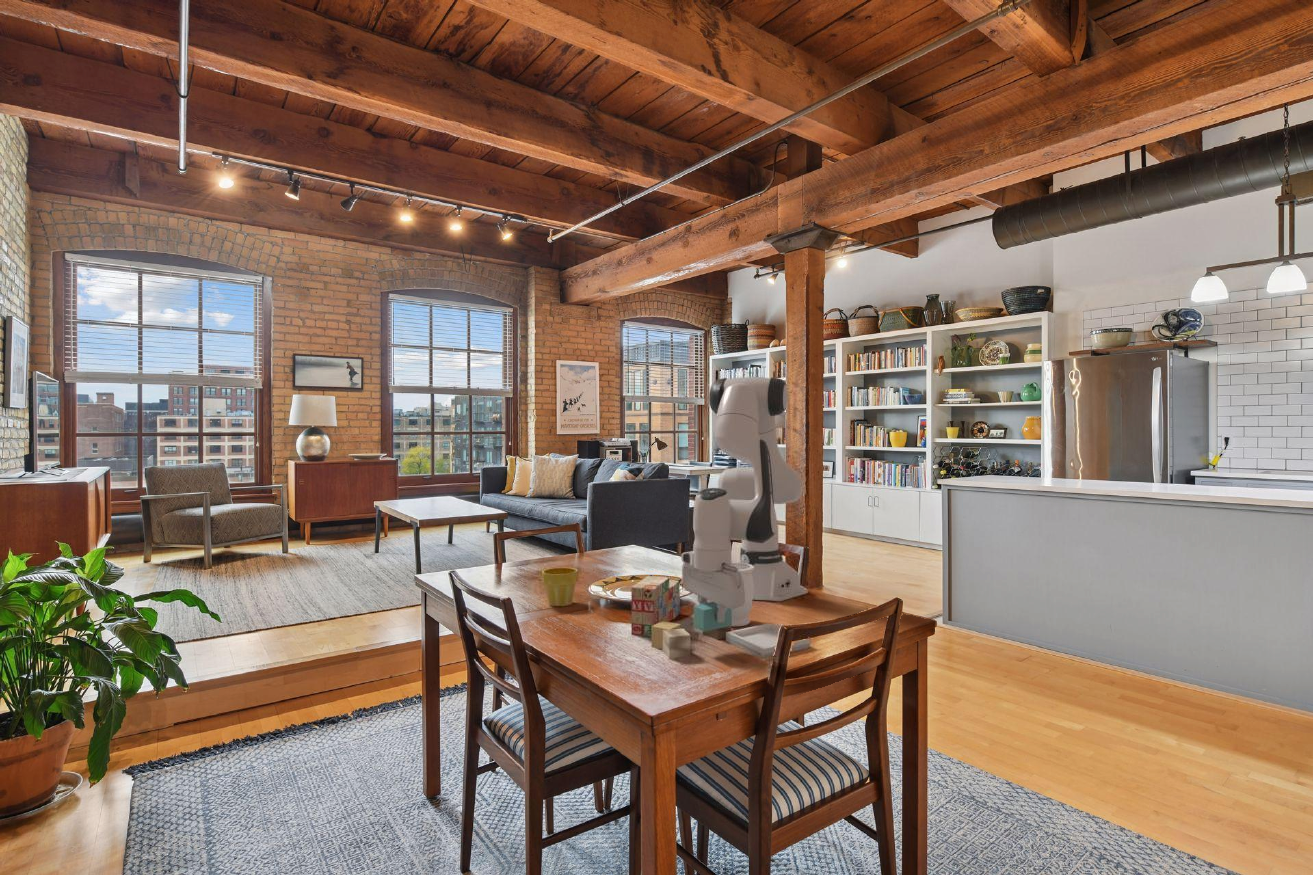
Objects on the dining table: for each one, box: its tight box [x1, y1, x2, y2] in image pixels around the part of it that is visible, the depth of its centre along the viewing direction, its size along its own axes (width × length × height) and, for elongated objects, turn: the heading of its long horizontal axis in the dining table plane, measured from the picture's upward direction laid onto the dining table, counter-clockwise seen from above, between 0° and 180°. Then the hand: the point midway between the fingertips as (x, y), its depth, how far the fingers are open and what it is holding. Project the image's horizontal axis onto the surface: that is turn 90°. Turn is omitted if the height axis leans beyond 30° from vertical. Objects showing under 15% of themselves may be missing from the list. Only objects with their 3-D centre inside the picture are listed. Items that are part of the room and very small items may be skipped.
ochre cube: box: [651, 621, 682, 650], centre depth 160 cm, size 5×5×5 cm
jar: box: [731, 561, 754, 627], centre depth 178 cm, size 11×10×15 cm
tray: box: [725, 622, 811, 659], centre depth 161 cm, size 14×14×2 cm
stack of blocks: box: [630, 575, 681, 638], centre depth 178 cm, size 21×6×12 cm, turn 161°
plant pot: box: [541, 566, 579, 607], centre depth 197 cm, size 10×10×10 cm
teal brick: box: [693, 601, 733, 633], centre depth 157 cm, size 8×4×5 cm, turn 121°
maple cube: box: [662, 628, 691, 660], centre depth 155 cm, size 5×5×5 cm
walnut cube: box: [702, 626, 732, 640], centre depth 168 cm, size 5×5×5 cm
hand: (712, 618), depth 157 cm, fingers closed on teal brick, 4 cm apart
